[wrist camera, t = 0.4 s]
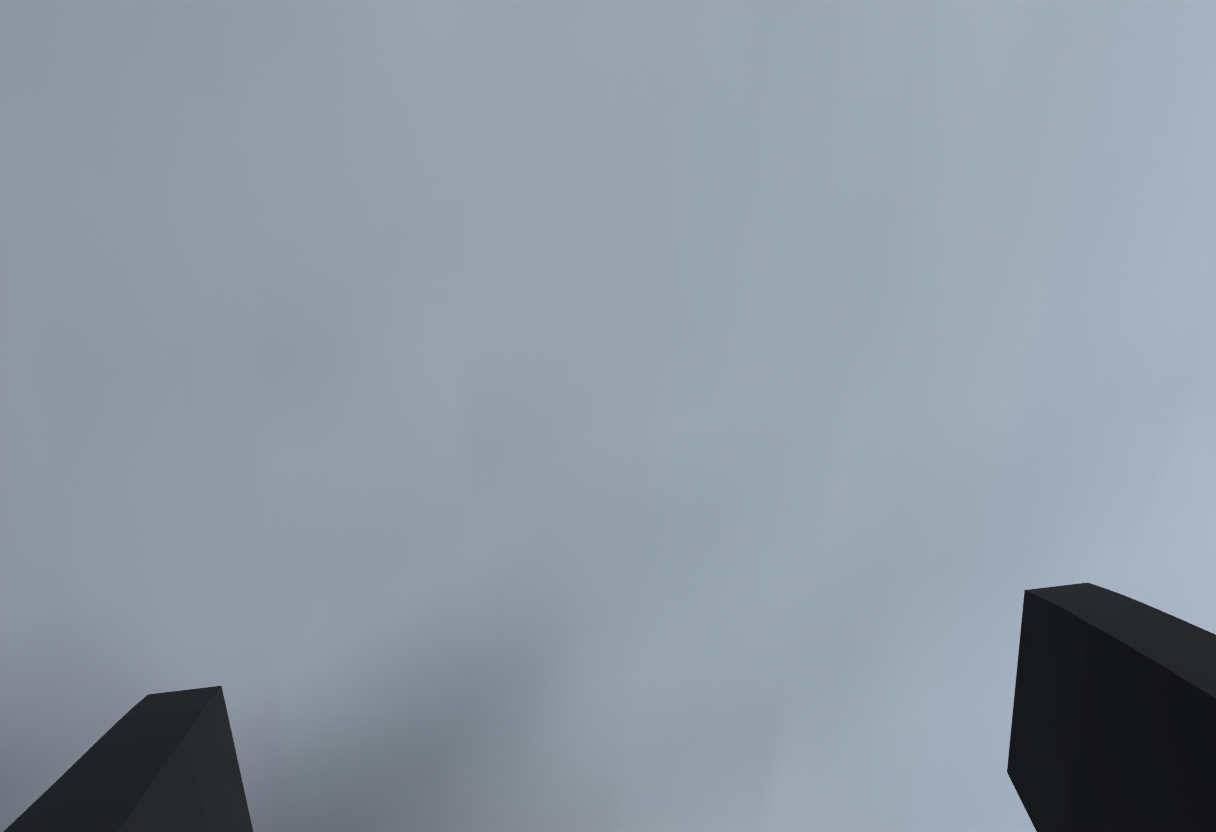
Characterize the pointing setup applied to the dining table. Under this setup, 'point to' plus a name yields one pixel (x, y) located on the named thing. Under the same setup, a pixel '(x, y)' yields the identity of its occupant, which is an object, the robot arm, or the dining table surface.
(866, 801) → the dining table surface
